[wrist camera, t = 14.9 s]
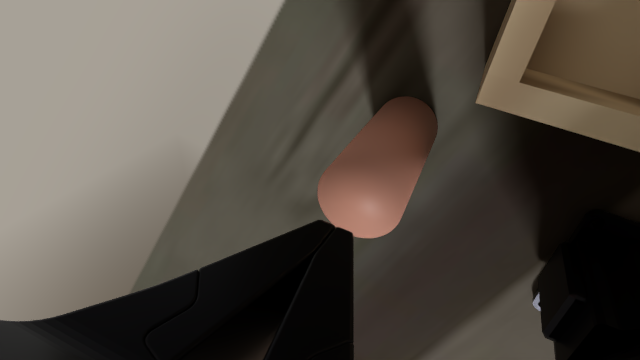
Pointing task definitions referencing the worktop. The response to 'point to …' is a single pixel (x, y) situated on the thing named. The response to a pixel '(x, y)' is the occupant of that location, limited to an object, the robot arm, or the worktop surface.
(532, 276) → the worktop surface
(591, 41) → the wooden box
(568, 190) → the worktop surface
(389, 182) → the key peg
